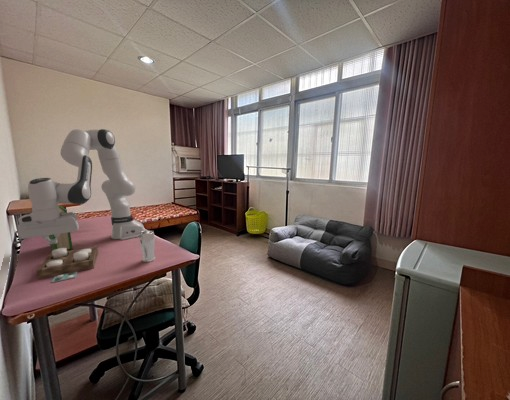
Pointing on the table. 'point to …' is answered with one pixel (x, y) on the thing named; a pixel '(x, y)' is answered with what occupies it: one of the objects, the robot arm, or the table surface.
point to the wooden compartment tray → (67, 264)
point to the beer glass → (147, 245)
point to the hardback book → (62, 237)
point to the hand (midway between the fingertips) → (53, 243)
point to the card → (64, 277)
